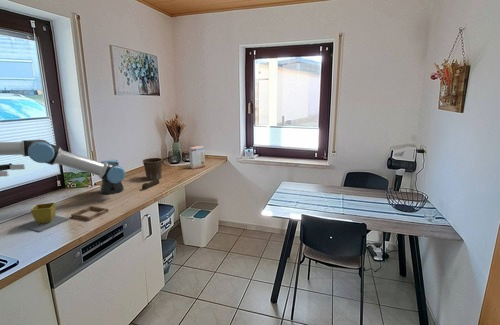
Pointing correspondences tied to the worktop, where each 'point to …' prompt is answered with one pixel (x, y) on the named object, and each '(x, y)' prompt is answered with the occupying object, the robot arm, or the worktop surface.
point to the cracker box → (197, 157)
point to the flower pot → (44, 212)
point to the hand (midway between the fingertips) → (16, 169)
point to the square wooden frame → (78, 216)
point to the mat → (44, 224)
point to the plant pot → (153, 168)
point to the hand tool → (149, 184)
